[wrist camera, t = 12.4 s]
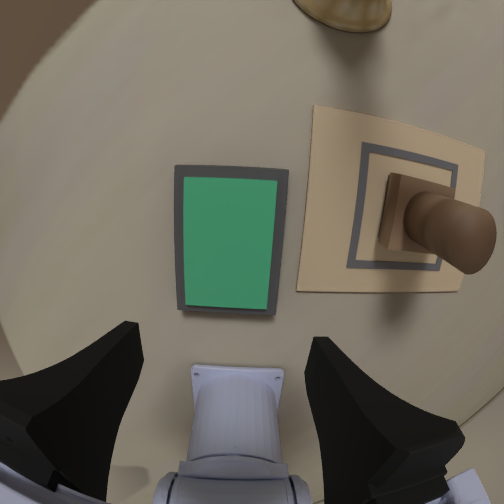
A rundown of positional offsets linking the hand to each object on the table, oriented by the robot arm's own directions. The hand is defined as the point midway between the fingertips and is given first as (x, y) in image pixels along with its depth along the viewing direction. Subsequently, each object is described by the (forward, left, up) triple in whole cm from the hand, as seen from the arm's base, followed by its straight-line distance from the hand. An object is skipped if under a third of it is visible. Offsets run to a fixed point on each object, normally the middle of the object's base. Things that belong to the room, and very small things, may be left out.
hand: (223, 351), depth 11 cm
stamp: (+5, -13, -9) cm, 16 cm away
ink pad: (+2, 0, -10) cm, 10 cm away
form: (+5, -13, -10) cm, 17 cm away
